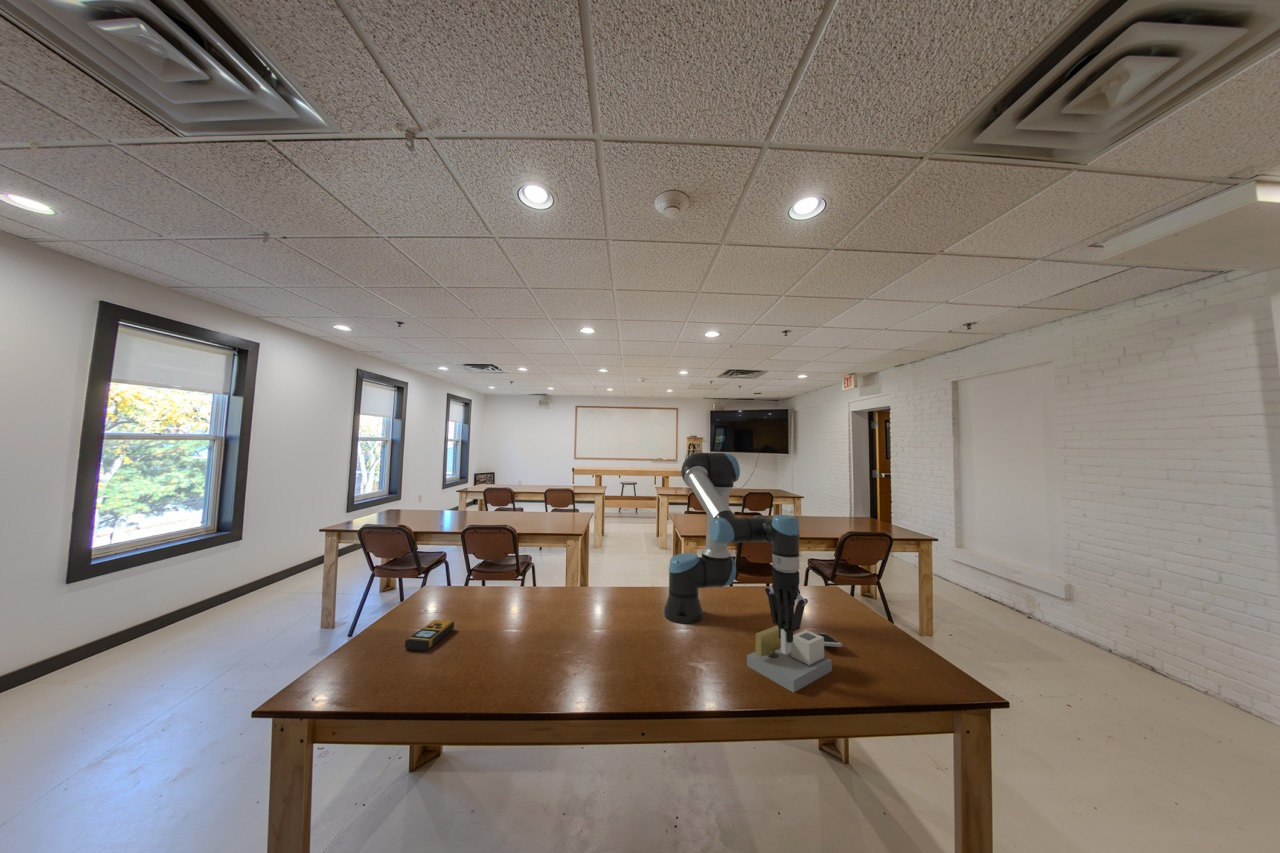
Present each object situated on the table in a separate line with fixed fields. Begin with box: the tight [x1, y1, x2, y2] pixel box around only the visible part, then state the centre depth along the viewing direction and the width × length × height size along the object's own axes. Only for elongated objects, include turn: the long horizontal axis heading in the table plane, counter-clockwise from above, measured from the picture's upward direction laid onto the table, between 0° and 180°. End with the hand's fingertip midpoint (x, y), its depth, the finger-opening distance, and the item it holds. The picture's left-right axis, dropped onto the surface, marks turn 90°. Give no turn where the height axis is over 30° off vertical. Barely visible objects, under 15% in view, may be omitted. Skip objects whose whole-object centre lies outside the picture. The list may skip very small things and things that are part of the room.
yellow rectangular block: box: [755, 624, 781, 657], centre depth 122 cm, size 13×2×7 cm, turn 125°
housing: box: [746, 648, 833, 693], centre depth 120 cm, size 16×20×4 cm
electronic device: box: [404, 619, 455, 652], centre depth 134 cm, size 8×16×3 cm, turn 175°
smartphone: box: [811, 631, 843, 648], centre depth 137 cm, size 7×15×1 cm, turn 175°
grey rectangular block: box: [791, 629, 825, 665], centre depth 121 cm, size 6×8×6 cm
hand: (785, 652), depth 115 cm, fingers closed
